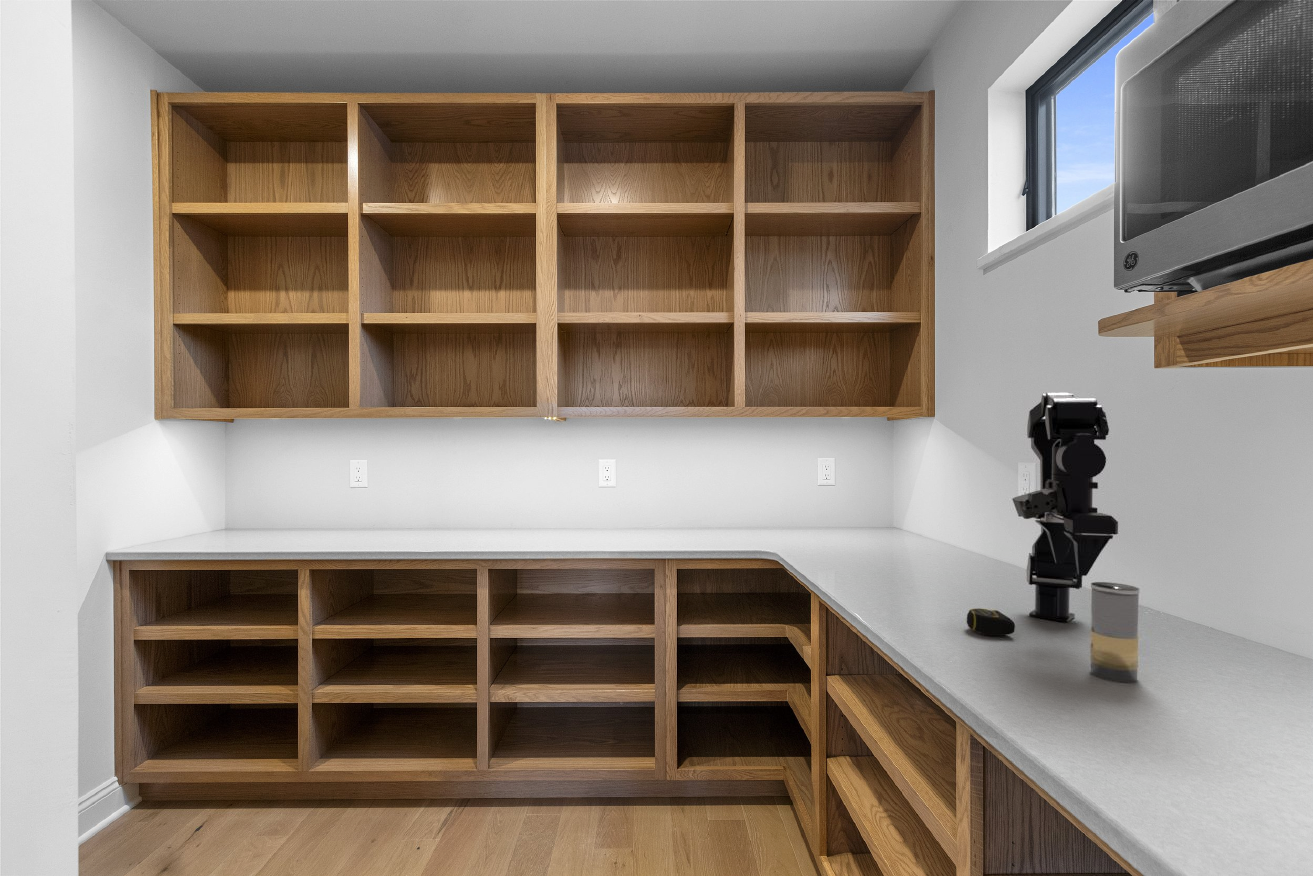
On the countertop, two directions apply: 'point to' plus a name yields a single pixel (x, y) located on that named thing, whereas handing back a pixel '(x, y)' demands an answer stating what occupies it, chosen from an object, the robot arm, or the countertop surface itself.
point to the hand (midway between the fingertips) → (1070, 569)
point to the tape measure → (989, 622)
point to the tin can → (1114, 632)
